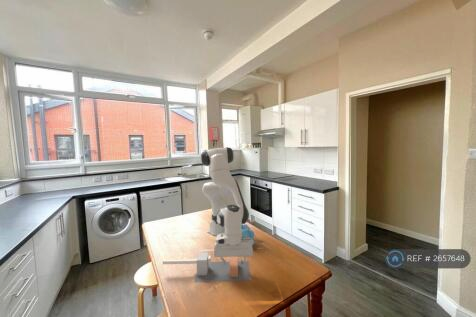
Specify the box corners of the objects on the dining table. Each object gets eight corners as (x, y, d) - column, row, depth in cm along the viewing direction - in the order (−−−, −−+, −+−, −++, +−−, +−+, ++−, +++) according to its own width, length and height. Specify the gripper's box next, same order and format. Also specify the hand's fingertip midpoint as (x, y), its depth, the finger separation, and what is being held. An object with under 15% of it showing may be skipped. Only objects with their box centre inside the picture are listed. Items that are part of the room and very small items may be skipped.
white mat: (200, 250, 120) (200, 249, 120) (222, 250, 121) (222, 249, 121) (196, 262, 108) (196, 261, 107) (221, 262, 108) (221, 261, 108)
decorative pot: (230, 252, 119) (230, 230, 118) (227, 240, 135) (227, 221, 134) (256, 249, 122) (256, 228, 121) (250, 238, 137) (249, 219, 137)
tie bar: (164, 261, 99) (164, 256, 99) (210, 260, 100) (210, 255, 100) (162, 265, 96) (162, 259, 96) (210, 264, 97) (210, 258, 97)
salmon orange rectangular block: (230, 264, 104) (230, 257, 104) (237, 264, 104) (237, 257, 104) (229, 277, 94) (229, 269, 94) (237, 276, 94) (237, 268, 94)
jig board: (199, 263, 107) (199, 248, 106) (248, 262, 107) (248, 247, 107) (194, 284, 91) (193, 266, 90) (250, 282, 91) (250, 264, 91)
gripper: (252, 234, 101) (252, 260, 102) (214, 235, 101) (214, 260, 101) (254, 240, 95) (254, 267, 95) (212, 240, 95) (213, 268, 95)
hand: (233, 263), depth 98 cm, fingers open, 8 cm apart
